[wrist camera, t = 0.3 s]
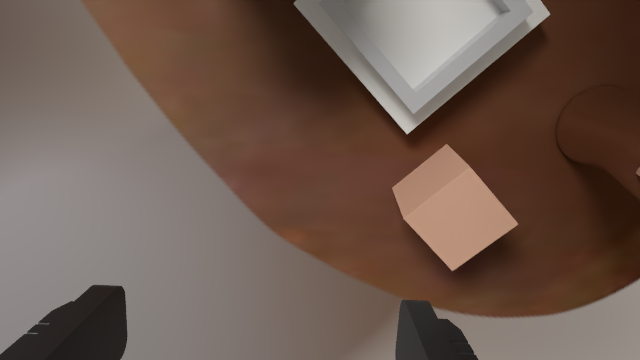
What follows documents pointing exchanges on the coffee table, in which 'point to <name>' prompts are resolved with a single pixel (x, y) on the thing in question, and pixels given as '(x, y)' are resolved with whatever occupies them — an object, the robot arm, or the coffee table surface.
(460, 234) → the terracotta block
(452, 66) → the grey stand
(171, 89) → the coffee table surface
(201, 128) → the coffee table surface
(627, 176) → the beer glass
